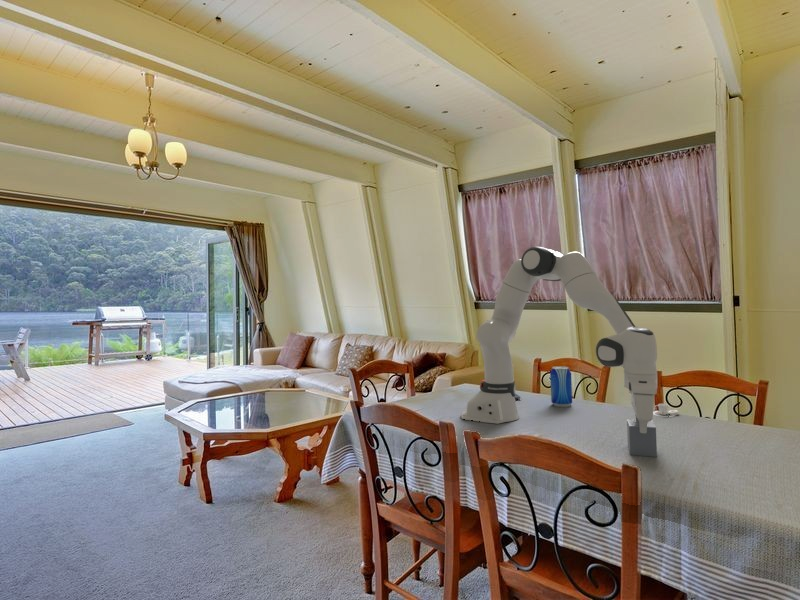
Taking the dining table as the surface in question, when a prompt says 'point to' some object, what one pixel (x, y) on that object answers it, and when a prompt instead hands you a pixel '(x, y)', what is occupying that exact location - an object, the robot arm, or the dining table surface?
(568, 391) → the beer can
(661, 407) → the teacup and saucer
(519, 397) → the woven mat
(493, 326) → the robot arm
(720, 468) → the dining table surface
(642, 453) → the grey rectangular block
